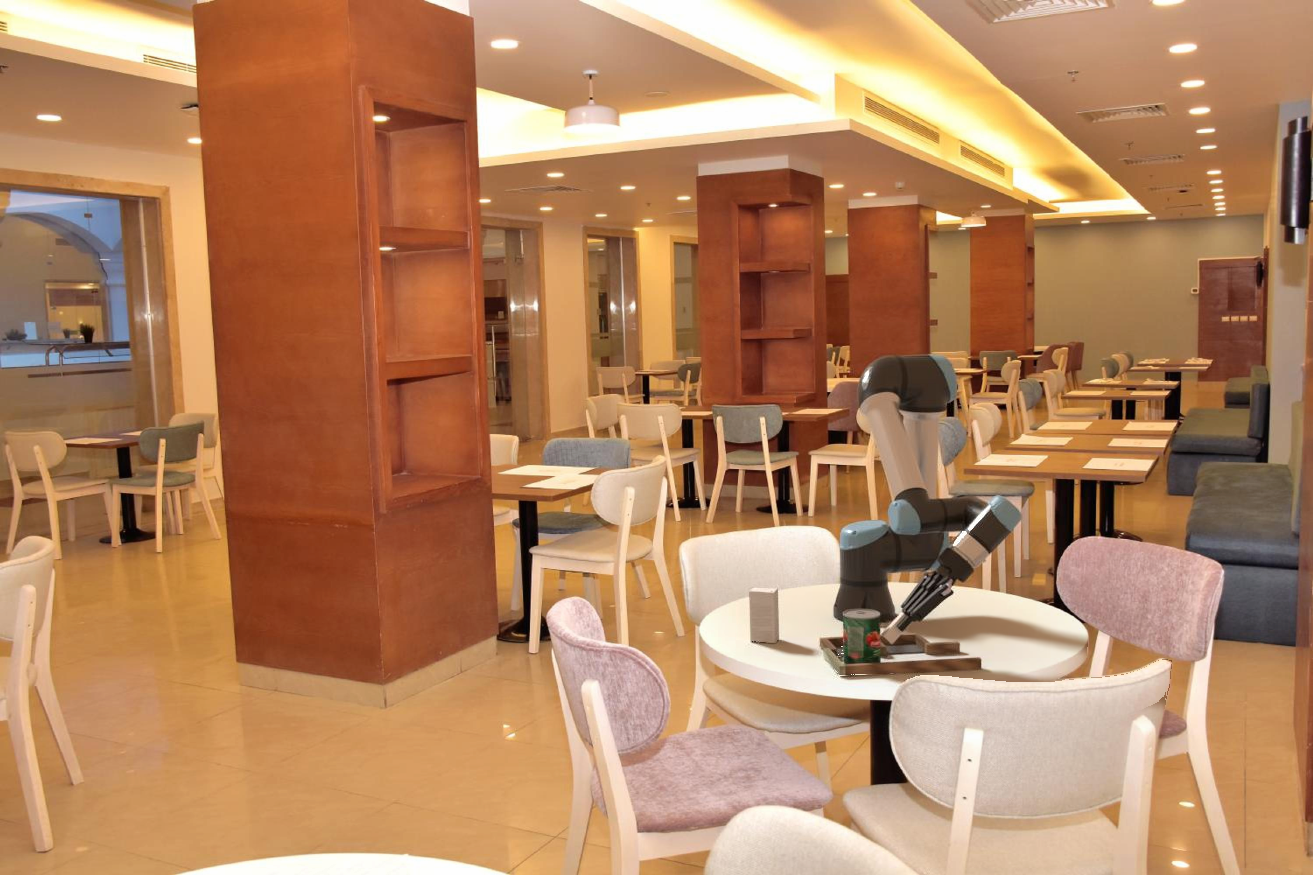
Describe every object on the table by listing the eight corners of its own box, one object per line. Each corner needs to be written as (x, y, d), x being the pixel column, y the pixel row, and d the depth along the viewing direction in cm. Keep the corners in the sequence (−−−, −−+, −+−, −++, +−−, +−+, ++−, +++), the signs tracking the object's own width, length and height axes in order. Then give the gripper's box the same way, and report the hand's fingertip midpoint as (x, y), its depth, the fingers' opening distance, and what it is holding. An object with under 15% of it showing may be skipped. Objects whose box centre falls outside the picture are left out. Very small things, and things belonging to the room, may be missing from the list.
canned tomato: (883, 669, 234) (882, 617, 233) (845, 669, 235) (844, 618, 234) (878, 658, 242) (877, 608, 241) (841, 658, 243) (841, 608, 242)
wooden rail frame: (944, 640, 254) (944, 631, 254) (981, 669, 233) (981, 658, 233) (814, 647, 251) (814, 637, 251) (839, 676, 230) (839, 666, 230)
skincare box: (779, 638, 259) (778, 588, 258) (775, 643, 255) (774, 592, 254) (754, 637, 261) (753, 586, 260) (749, 642, 257) (748, 591, 256)
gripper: (986, 575, 231) (908, 659, 231) (962, 563, 244) (889, 642, 244) (961, 551, 230) (883, 635, 230) (938, 540, 243) (865, 620, 243)
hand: (886, 639), depth 237 cm, fingers closed
